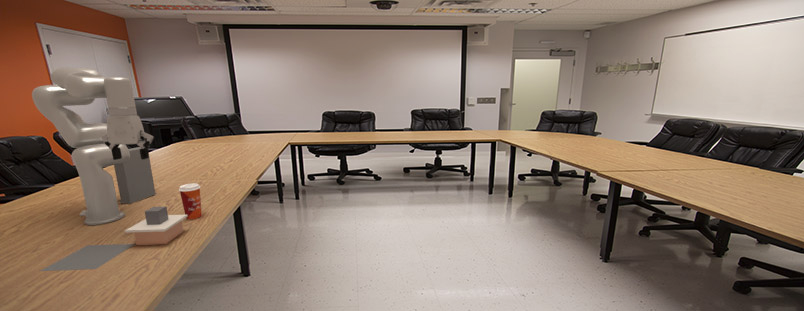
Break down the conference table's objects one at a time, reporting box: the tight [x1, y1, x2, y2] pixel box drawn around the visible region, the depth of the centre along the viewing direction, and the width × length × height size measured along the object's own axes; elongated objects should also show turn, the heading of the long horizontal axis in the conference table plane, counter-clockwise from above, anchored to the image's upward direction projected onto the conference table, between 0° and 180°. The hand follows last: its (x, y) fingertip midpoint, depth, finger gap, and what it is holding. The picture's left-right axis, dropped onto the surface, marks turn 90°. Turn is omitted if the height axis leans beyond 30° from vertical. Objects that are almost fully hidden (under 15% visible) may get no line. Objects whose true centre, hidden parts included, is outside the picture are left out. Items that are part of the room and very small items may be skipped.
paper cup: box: [178, 182, 203, 220], centre depth 136 cm, size 8×8×14 cm
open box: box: [133, 220, 185, 246], centre depth 116 cm, size 10×10×6 cm
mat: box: [39, 243, 136, 272], centre depth 104 cm, size 16×16×1 cm
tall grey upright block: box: [113, 146, 157, 205], centre depth 158 cm, size 14×6×25 cm, turn 172°
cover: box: [124, 206, 188, 234], centre depth 115 cm, size 13×13×6 cm
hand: (131, 158), depth 119 cm, fingers open, 9 cm apart
